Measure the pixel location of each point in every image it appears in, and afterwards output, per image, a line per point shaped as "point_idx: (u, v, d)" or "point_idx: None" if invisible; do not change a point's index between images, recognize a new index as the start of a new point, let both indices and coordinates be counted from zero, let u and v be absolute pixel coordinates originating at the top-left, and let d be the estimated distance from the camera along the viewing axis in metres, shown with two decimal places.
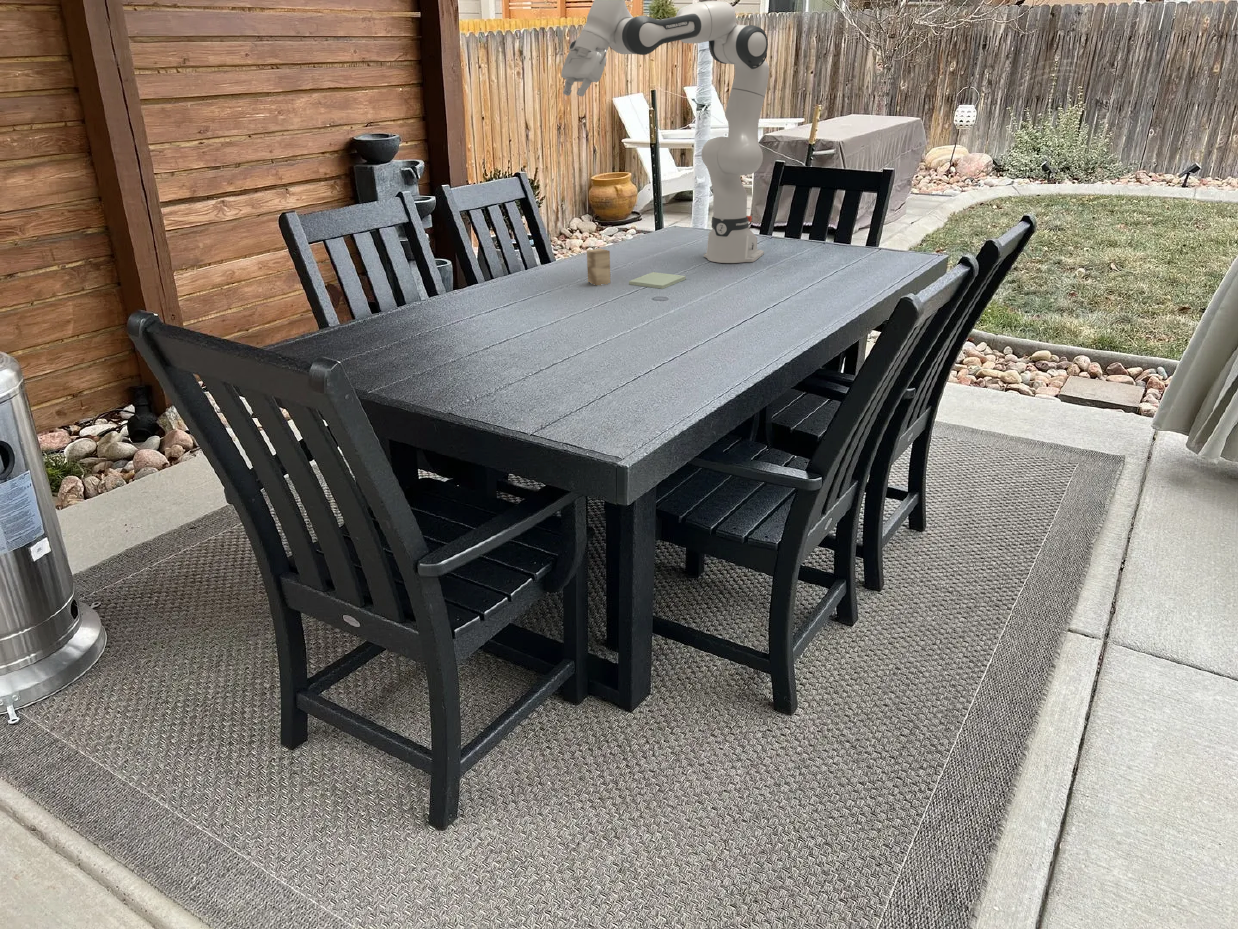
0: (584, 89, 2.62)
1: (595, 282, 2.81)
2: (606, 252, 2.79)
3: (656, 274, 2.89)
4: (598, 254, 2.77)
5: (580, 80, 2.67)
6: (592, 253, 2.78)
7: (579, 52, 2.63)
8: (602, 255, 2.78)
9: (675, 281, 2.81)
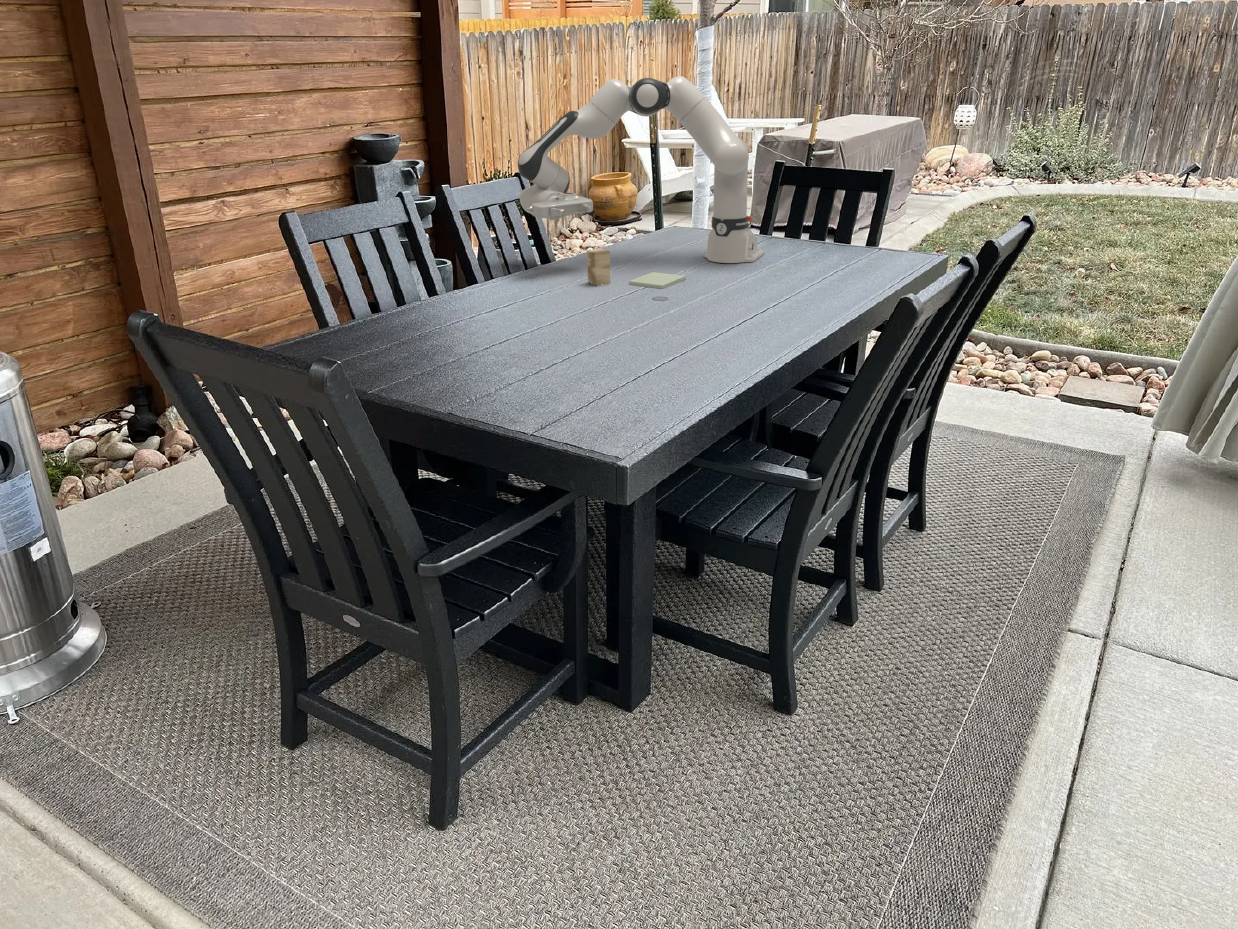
0: (556, 211, 2.83)
1: (595, 282, 2.81)
2: (606, 252, 2.79)
3: (656, 274, 2.89)
4: (598, 254, 2.77)
5: (571, 204, 2.88)
6: (592, 253, 2.78)
7: (556, 216, 2.94)
8: (602, 255, 2.78)
9: (675, 281, 2.81)
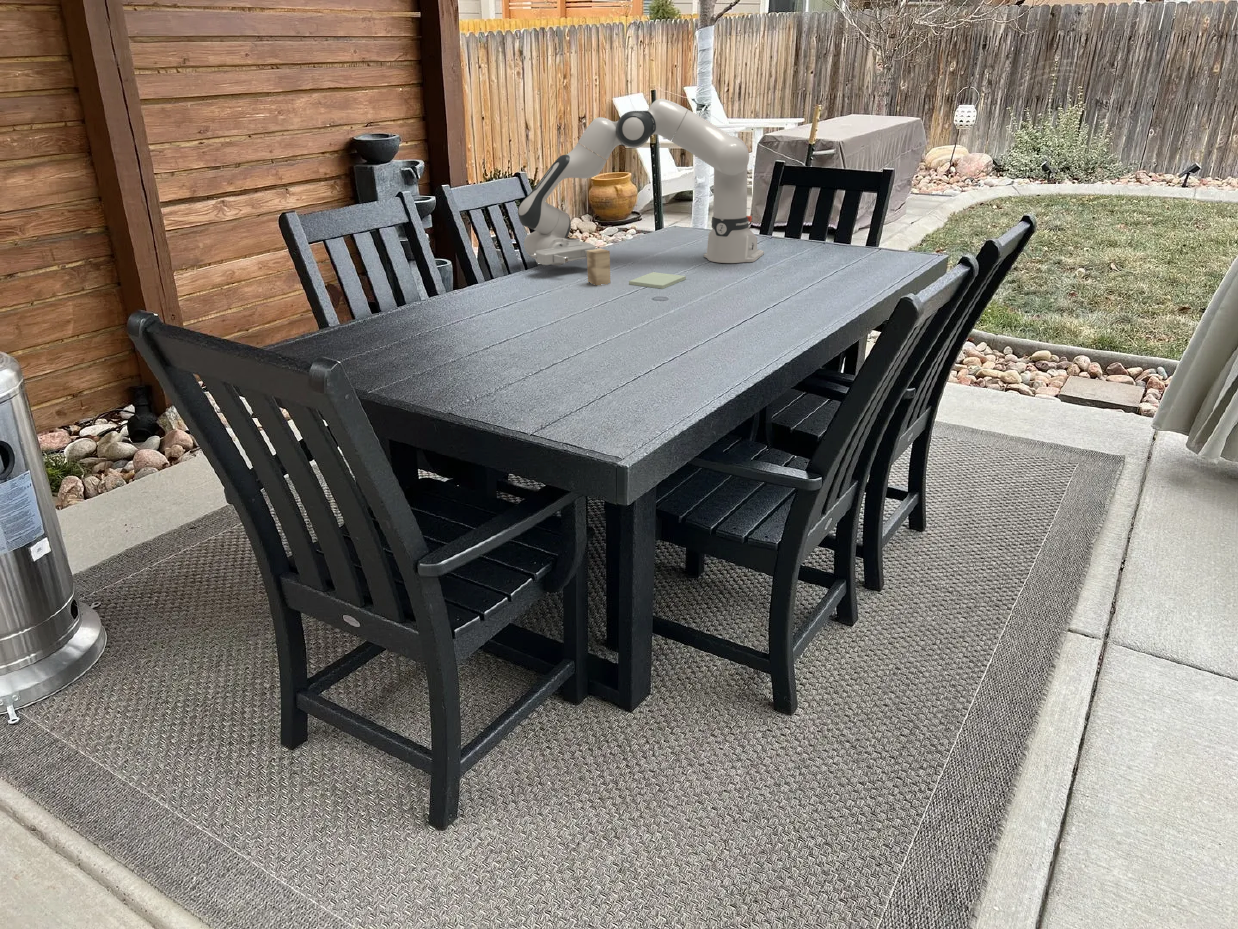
0: (560, 258, 2.89)
1: (595, 282, 2.81)
2: (606, 252, 2.79)
3: (656, 274, 2.89)
4: (598, 254, 2.77)
5: (574, 251, 2.94)
6: (592, 253, 2.78)
7: None
8: (602, 255, 2.78)
9: (675, 281, 2.81)
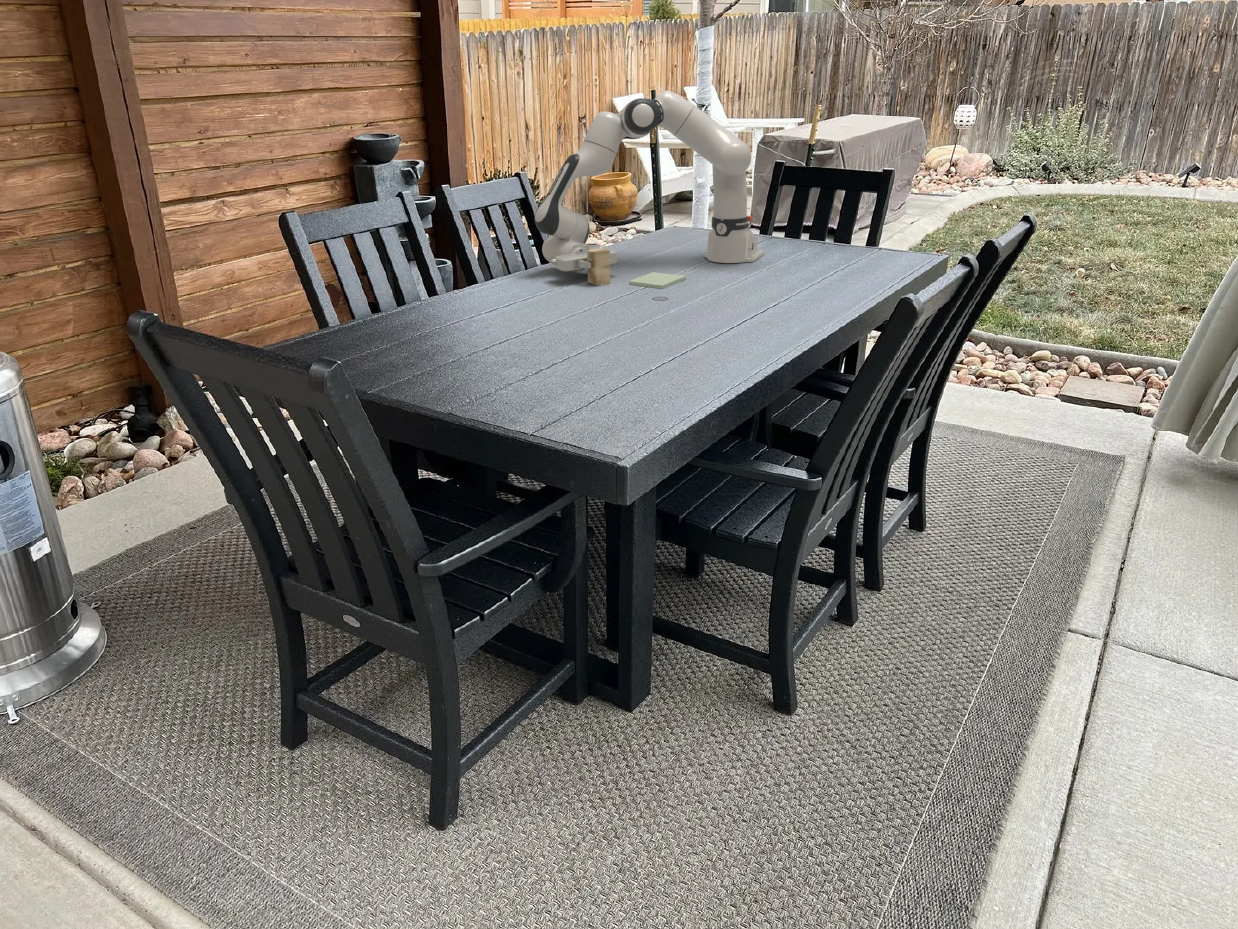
0: (585, 264, 2.80)
1: (595, 282, 2.81)
2: (606, 252, 2.79)
3: (656, 274, 2.89)
4: (598, 254, 2.77)
5: None
6: (592, 253, 2.78)
7: None
8: (602, 254, 2.78)
9: (675, 281, 2.81)
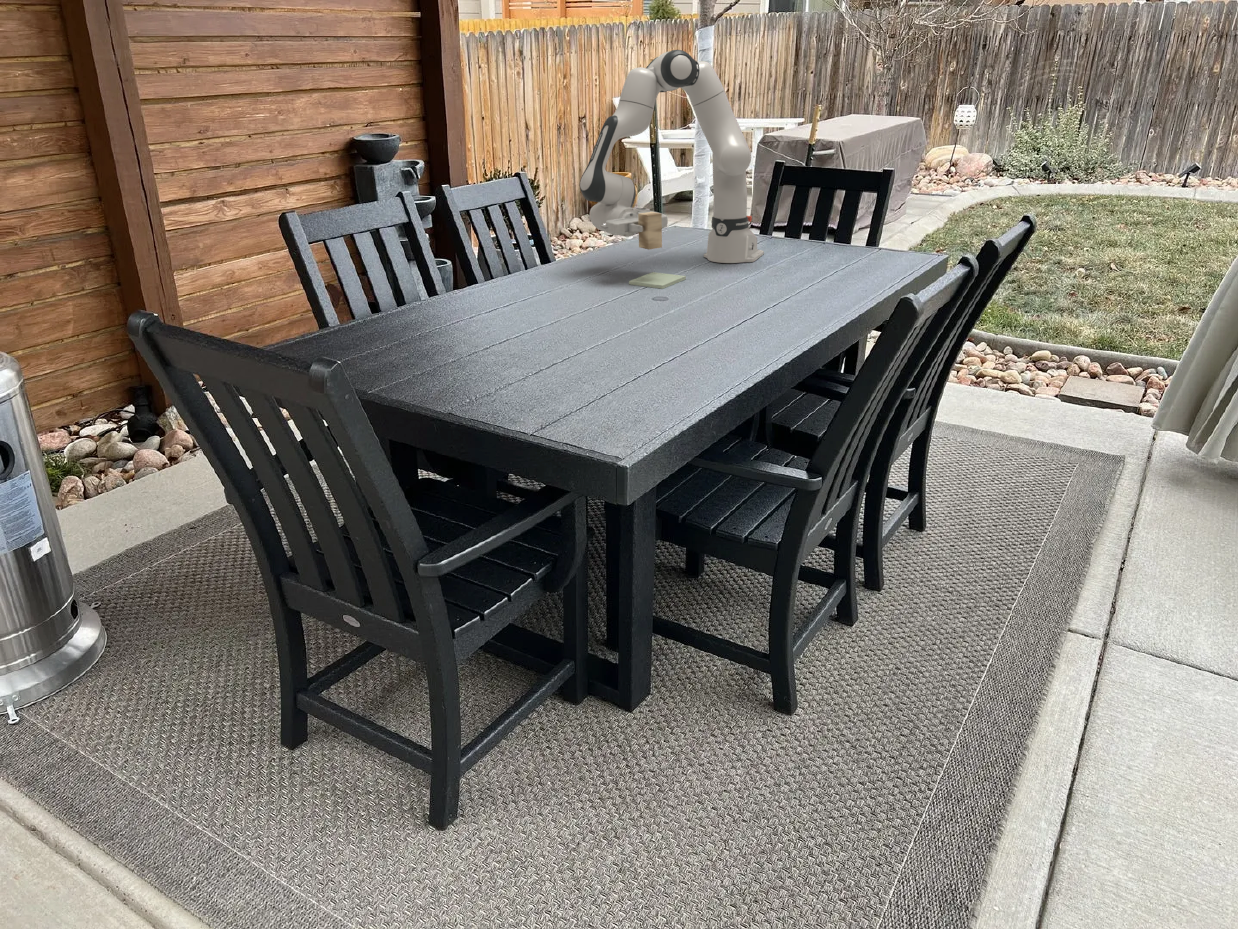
0: (637, 227, 2.76)
1: (647, 246, 2.77)
2: (658, 215, 2.74)
3: (656, 274, 2.89)
4: (650, 217, 2.73)
5: None
6: (644, 216, 2.74)
7: (629, 233, 2.86)
8: (654, 217, 2.74)
9: (675, 281, 2.81)
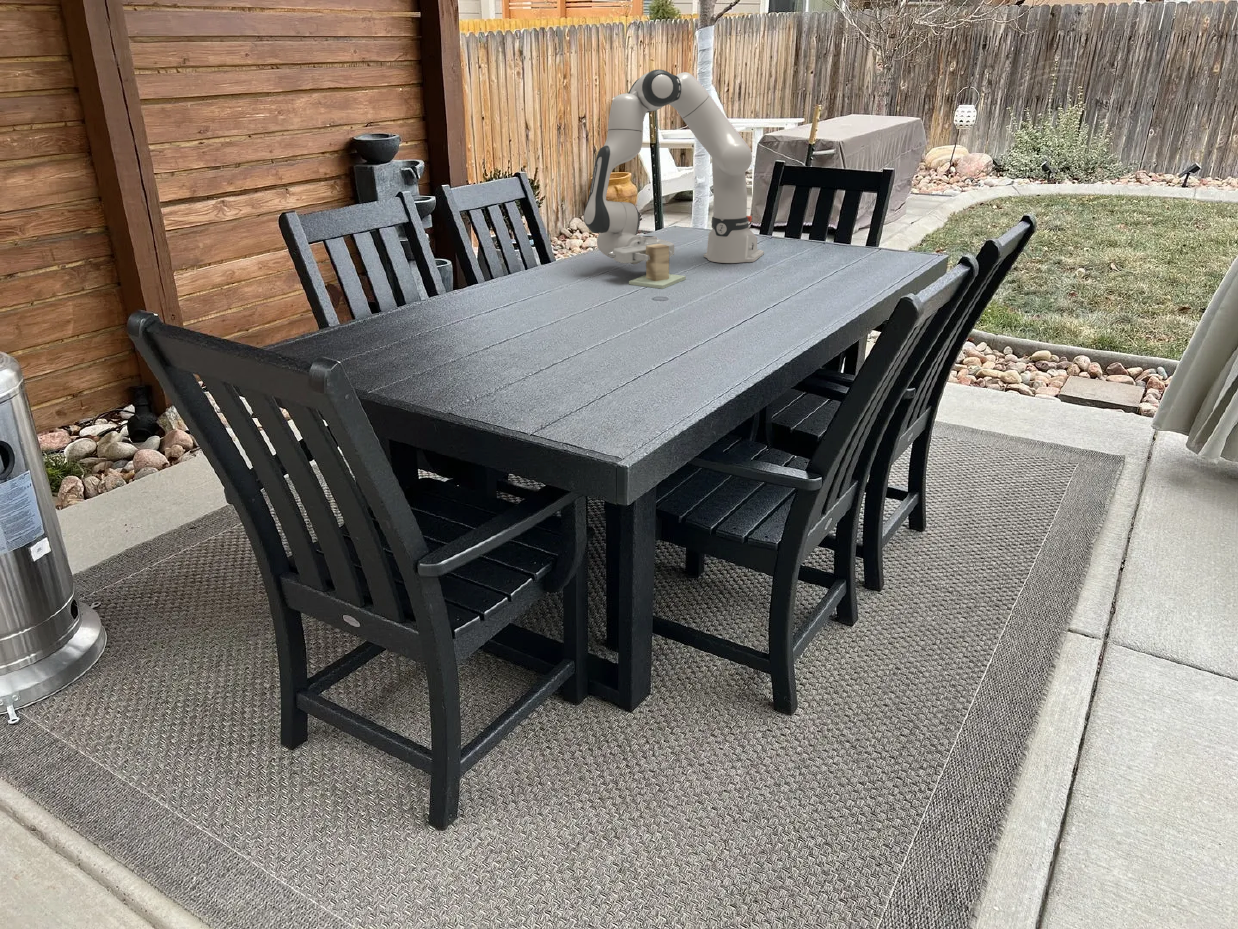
0: (642, 256, 2.79)
1: (654, 277, 2.81)
2: (666, 247, 2.78)
3: None
4: (658, 249, 2.77)
5: None
6: (652, 248, 2.78)
7: None
8: (662, 250, 2.78)
9: (675, 281, 2.81)
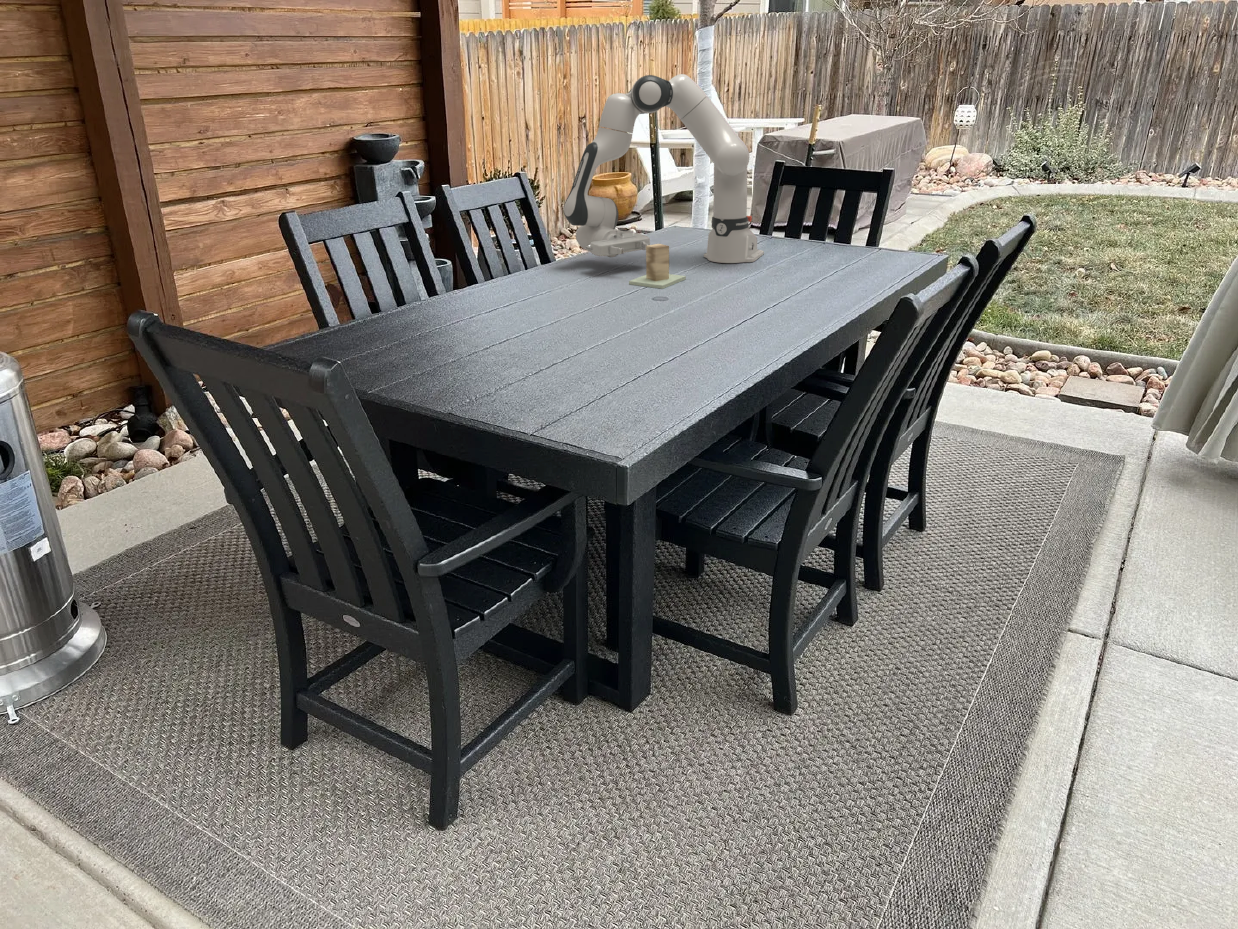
0: (616, 249, 2.88)
1: (654, 277, 2.81)
2: (666, 247, 2.78)
3: None
4: (658, 249, 2.77)
5: (629, 242, 2.94)
6: (652, 248, 2.78)
7: None
8: (662, 250, 2.78)
9: (675, 281, 2.81)
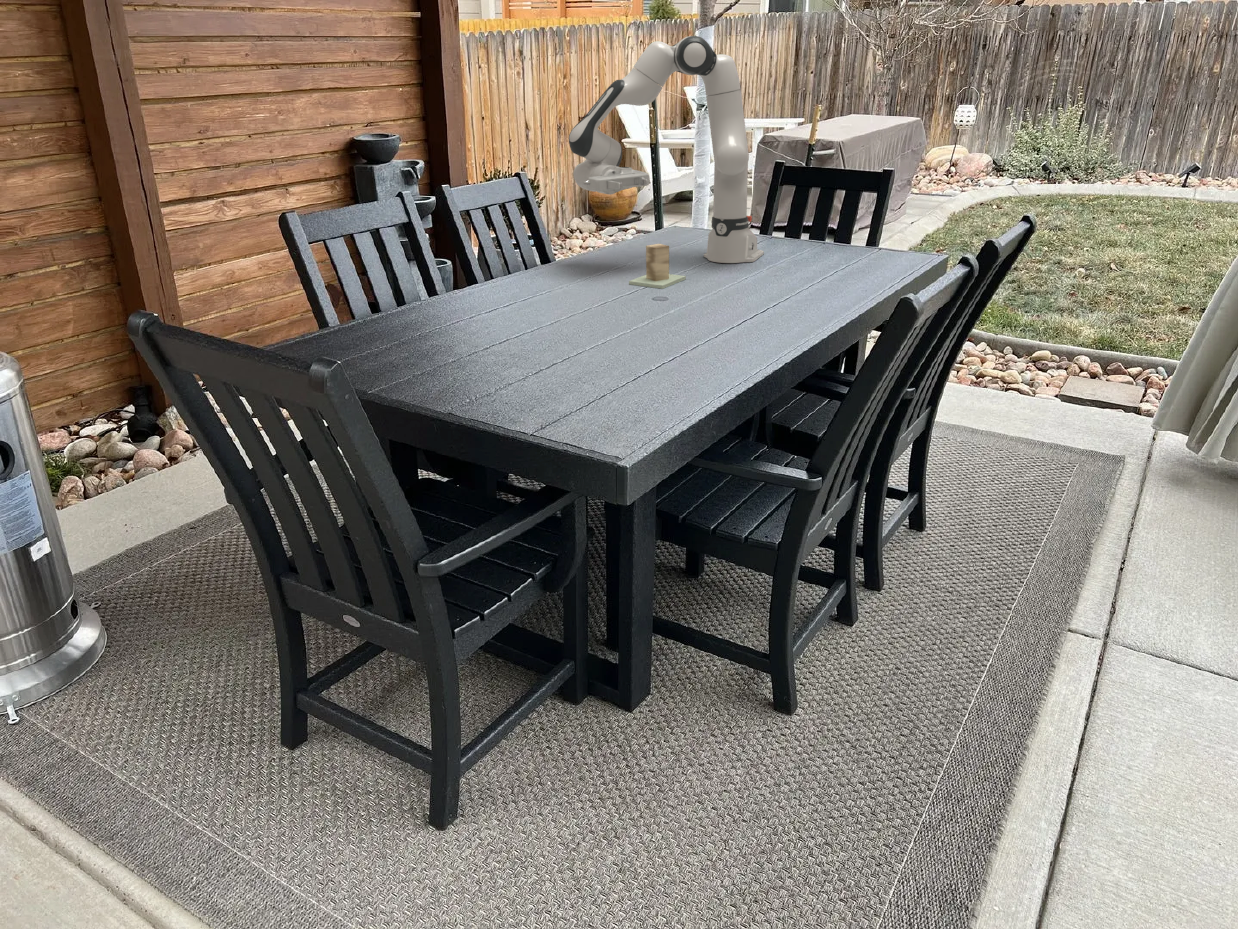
0: (614, 184, 2.80)
1: (654, 277, 2.81)
2: (666, 247, 2.78)
3: None
4: (658, 249, 2.77)
5: (628, 177, 2.85)
6: (652, 248, 2.78)
7: (612, 190, 2.91)
8: (662, 250, 2.78)
9: (675, 281, 2.81)
